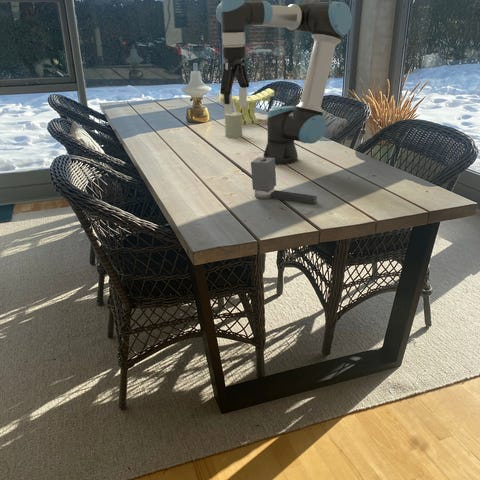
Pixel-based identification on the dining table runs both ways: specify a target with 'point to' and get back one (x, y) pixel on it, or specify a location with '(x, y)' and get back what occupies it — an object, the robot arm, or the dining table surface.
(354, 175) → the dining table surface
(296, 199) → the ratchet
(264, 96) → the slatted curved stool
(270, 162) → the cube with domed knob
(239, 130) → the can
